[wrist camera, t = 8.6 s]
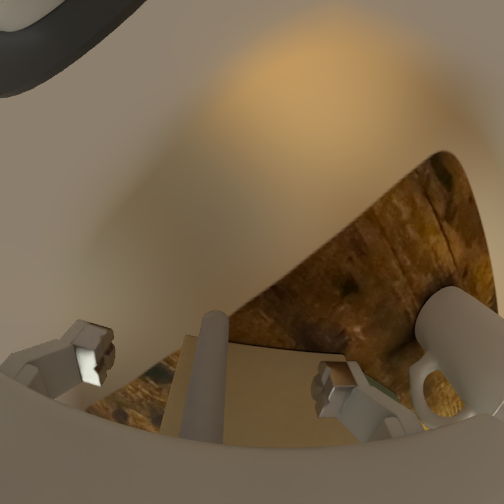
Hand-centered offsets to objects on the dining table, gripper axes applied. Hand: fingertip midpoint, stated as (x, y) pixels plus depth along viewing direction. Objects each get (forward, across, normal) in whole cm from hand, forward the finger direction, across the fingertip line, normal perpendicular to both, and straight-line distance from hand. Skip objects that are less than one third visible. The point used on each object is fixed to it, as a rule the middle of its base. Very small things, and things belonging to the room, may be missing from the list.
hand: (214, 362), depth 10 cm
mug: (+9, -18, +3) cm, 21 cm away
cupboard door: (+9, -4, +3) cm, 10 cm away
